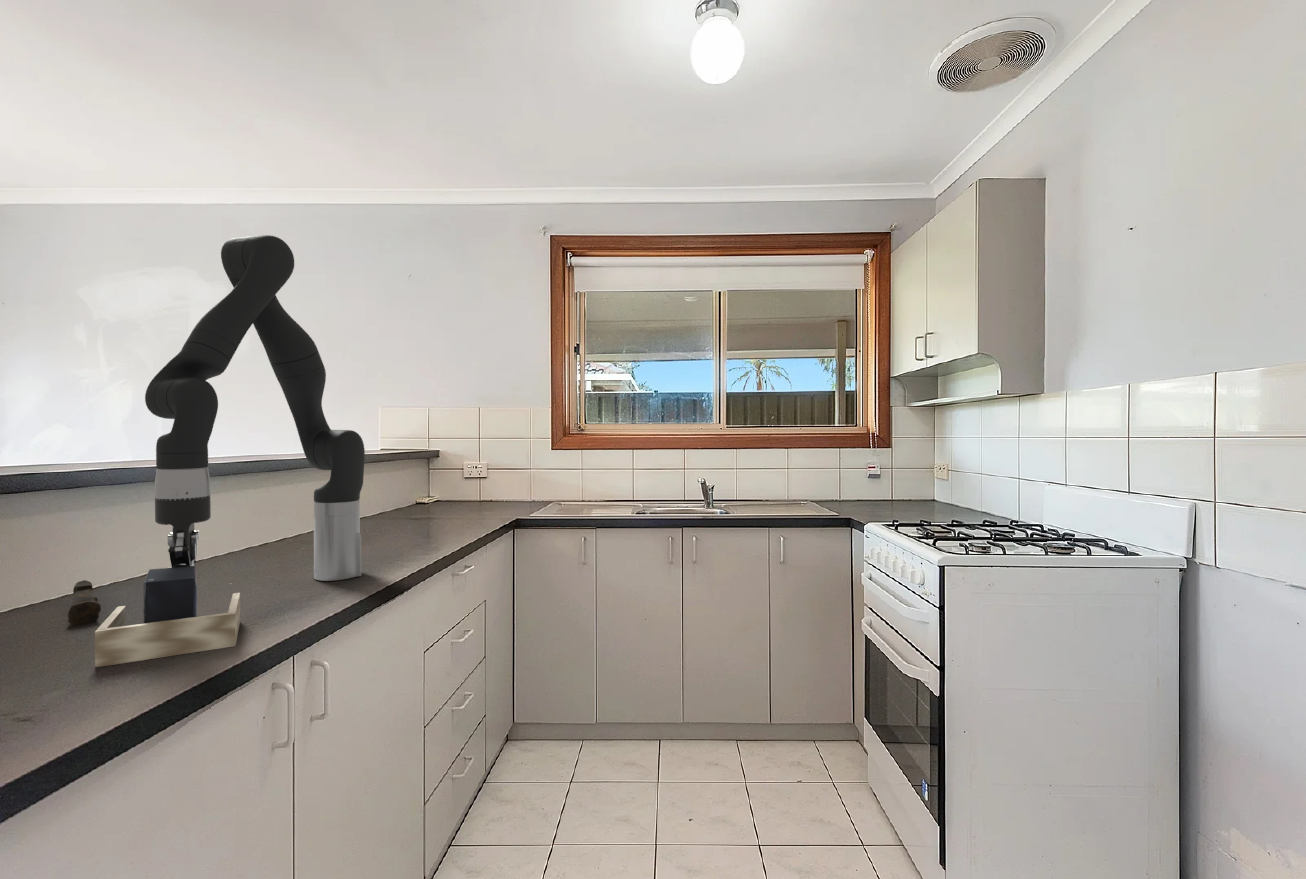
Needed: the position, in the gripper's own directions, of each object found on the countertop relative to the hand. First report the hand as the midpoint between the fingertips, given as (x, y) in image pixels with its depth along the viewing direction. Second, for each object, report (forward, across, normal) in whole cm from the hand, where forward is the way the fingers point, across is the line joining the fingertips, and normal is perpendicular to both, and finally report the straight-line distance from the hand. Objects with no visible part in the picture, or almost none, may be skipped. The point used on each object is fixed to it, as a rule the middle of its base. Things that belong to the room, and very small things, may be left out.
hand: (184, 594), depth 103 cm
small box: (+5, -10, +1) cm, 11 cm away
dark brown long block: (+5, +16, +17) cm, 24 cm away
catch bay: (+4, -11, 0) cm, 12 cm away
